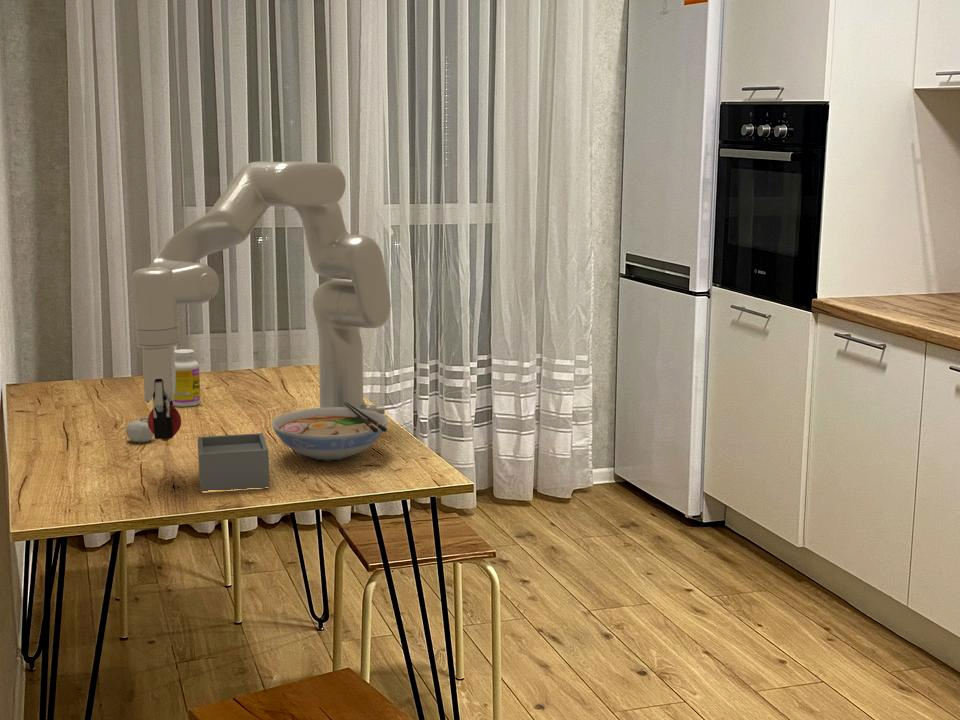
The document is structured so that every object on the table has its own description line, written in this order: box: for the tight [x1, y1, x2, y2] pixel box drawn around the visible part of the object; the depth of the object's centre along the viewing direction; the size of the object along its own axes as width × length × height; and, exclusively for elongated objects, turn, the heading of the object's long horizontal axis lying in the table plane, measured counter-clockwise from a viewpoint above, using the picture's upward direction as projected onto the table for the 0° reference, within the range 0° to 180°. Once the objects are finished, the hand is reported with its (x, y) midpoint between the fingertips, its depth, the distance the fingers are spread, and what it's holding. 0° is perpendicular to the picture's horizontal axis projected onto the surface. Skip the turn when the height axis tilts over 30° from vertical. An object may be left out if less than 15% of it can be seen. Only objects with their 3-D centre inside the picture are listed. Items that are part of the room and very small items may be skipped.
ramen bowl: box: [271, 403, 388, 462], centre depth 222 cm, size 25×23×8 cm
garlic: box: [126, 416, 154, 444], centre depth 233 cm, size 6×5×5 cm
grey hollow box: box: [197, 432, 270, 492], centre depth 206 cm, size 12×12×8 cm
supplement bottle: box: [173, 348, 201, 408], centre depth 264 cm, size 7×7×13 cm
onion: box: [147, 399, 182, 442], centre depth 205 cm, size 6×6×8 cm
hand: (165, 432), depth 205 cm, fingers closed on onion, 5 cm apart
